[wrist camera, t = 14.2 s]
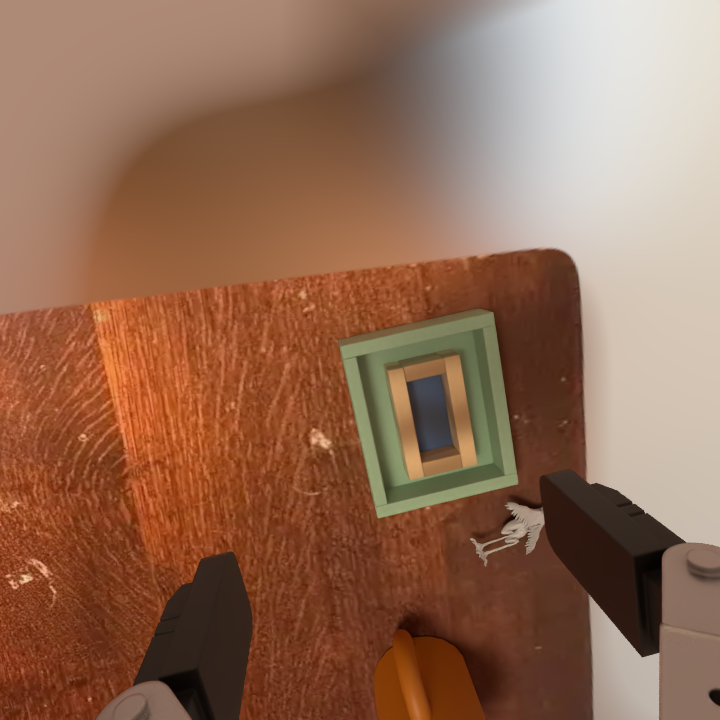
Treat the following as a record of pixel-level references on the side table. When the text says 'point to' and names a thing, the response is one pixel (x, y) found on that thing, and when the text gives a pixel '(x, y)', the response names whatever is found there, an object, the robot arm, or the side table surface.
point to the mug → (424, 682)
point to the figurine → (517, 529)
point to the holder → (484, 397)
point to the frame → (431, 413)
